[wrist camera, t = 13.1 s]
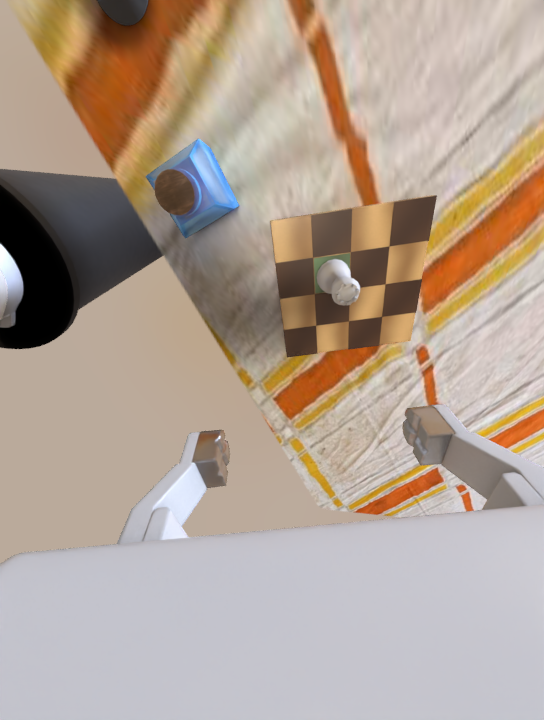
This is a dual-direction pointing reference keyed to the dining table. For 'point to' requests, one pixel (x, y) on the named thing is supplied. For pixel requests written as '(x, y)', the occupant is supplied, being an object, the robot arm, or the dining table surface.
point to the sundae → (124, 10)
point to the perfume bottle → (193, 188)
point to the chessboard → (352, 274)
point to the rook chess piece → (338, 282)
